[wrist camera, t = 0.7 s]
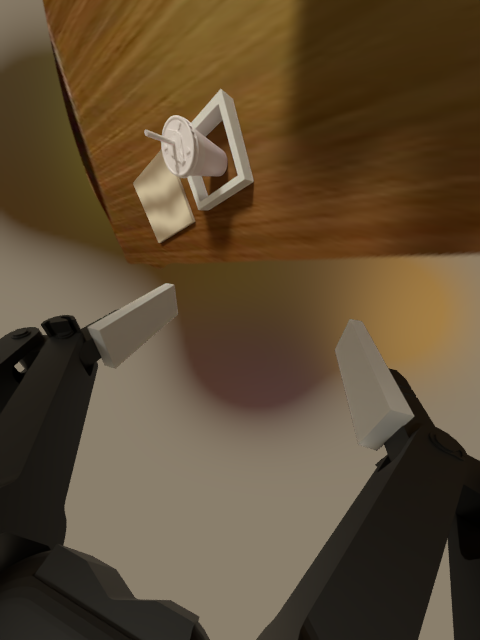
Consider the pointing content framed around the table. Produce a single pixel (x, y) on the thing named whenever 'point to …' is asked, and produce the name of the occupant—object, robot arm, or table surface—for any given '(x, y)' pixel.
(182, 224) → the board
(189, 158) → the smoothie
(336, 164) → the table surface
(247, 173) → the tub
